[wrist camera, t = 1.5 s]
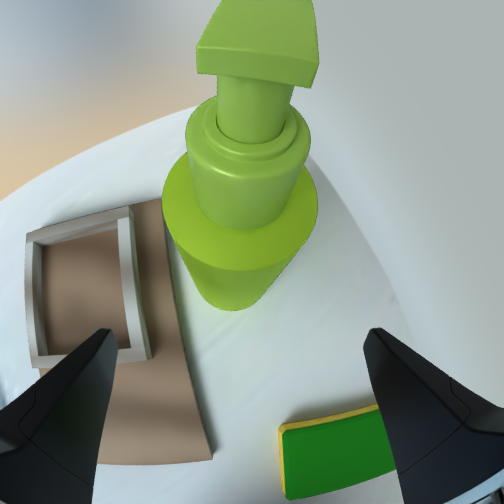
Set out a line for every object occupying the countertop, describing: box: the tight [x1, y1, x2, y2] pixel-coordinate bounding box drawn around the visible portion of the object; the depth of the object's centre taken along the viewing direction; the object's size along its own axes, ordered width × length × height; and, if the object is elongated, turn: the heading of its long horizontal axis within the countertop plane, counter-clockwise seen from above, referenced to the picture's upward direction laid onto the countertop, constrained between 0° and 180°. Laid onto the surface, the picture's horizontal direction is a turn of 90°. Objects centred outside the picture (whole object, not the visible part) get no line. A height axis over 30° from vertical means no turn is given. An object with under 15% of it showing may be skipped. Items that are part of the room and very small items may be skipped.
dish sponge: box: [278, 404, 396, 501], centre depth 18 cm, size 7×14×2 cm, turn 94°
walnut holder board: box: [25, 199, 213, 465], centre depth 18 cm, size 22×14×3 cm, turn 13°
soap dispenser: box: [162, 0, 319, 311], centre depth 13 cm, size 6×7×20 cm
